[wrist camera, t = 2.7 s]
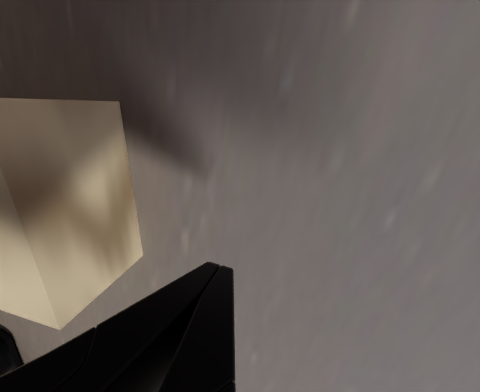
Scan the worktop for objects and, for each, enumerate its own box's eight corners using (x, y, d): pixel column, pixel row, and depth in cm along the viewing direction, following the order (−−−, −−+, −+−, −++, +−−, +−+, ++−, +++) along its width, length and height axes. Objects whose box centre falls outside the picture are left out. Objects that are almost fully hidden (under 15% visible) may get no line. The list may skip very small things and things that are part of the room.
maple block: (145, 253, 13) (60, 330, 9) (39, 231, 15) (-76, 284, 11) (122, 101, 10) (-25, 97, 6) (-6, 97, 12) (-192, 92, 8)
